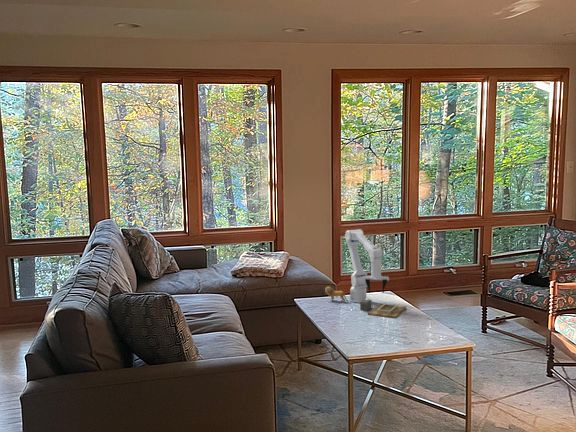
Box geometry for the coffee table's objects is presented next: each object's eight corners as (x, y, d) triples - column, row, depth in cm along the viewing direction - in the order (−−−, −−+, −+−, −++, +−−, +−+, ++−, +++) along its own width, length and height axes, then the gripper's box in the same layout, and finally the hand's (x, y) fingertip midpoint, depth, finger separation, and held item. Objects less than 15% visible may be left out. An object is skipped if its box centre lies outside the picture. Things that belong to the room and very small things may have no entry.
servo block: (359, 310, 328) (359, 301, 328) (365, 306, 336) (365, 297, 336) (366, 311, 326) (366, 302, 326) (371, 307, 334) (371, 298, 334)
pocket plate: (367, 314, 320) (367, 310, 320) (380, 305, 338) (380, 301, 337) (395, 318, 312) (395, 313, 312) (406, 308, 330) (406, 304, 330)
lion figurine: (324, 301, 349) (323, 287, 348) (326, 299, 354) (326, 285, 353) (347, 303, 344) (347, 288, 343) (349, 301, 349) (349, 286, 348)
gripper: (363, 270, 327) (363, 293, 328) (389, 271, 324) (389, 294, 326) (363, 268, 333) (363, 290, 335) (388, 268, 331) (388, 291, 333)
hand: (376, 292), depth 331 cm, fingers open, 7 cm apart
